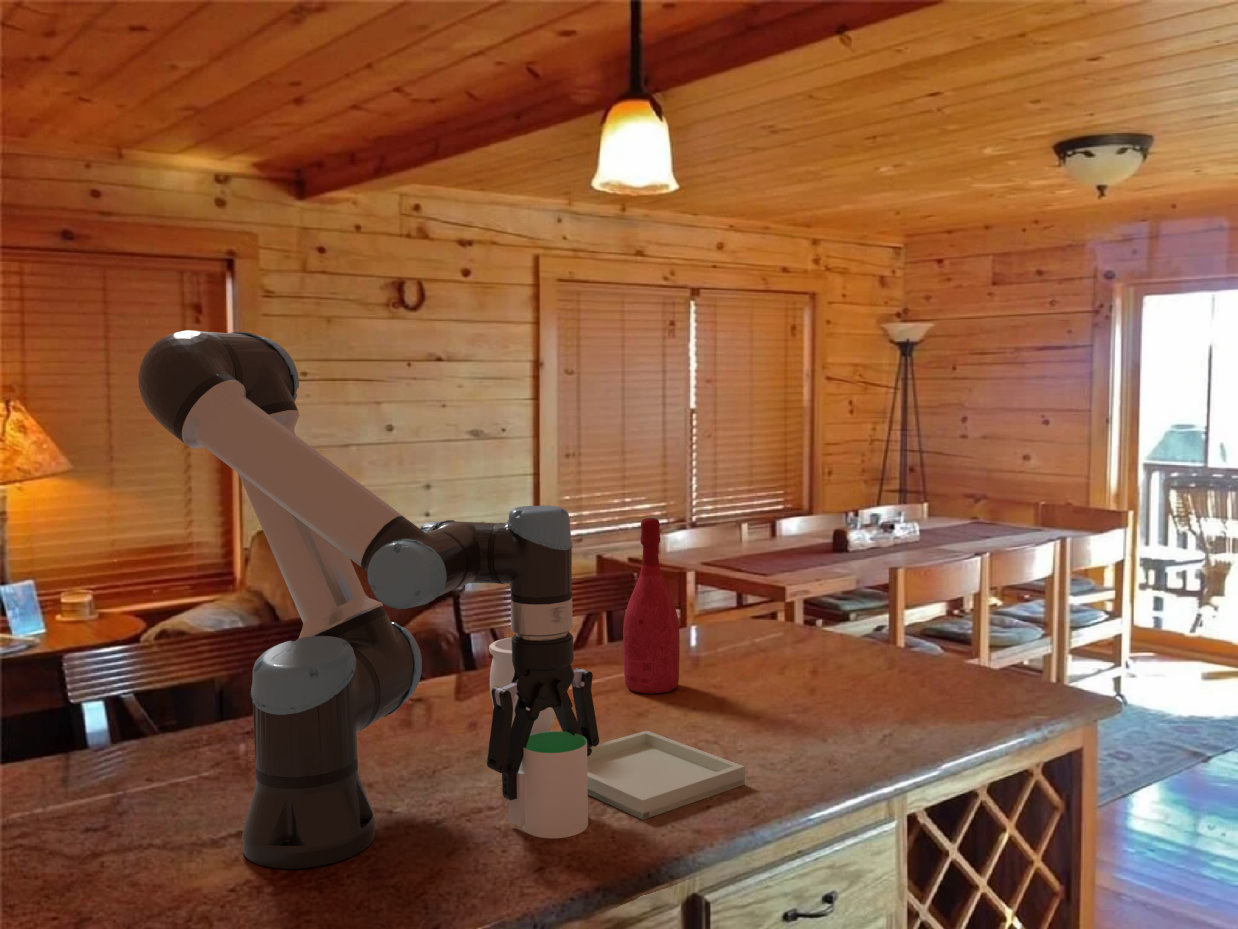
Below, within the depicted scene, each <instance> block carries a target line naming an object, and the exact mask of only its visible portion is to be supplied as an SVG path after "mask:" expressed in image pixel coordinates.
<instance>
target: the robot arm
mask: <svg viewBox="0 0 1238 929" xmlns="http://www.w3.org/2000/svg"><path fill="white" fill-rule="evenodd" d="M137 376H138V377H137V378H138V380H137V381H138V382H137V383H138V389H139V392H140V396H141V399H142V401H143V403H144V406H145V407H146V408H147V410H148V412H149V413H150V414H151V415H152V417H153V418H154V419H155V420H156V421H157V422H158V423H159V424H160V425H161V426H162V427H163V428H164V429H166V430H167V431H168V432H169V433H170V434H171V435H173V436H175V438H177V439H178V440H179V441H181V443H183V444H184V445H186V446H187V447H189V448H191V449H196V450H197V449H203V448H205V450H207V451H208V452H210V453H211V454H213V455H214V456H215V457H216V458H218V459H219V460H221V462H223V463H225V464H226V465H227V466H228V467H230V469H232V470H233V471H235V472H236V473H237V474H238V476H239V478H240V481H241V482H242V486H243V487H244V490H245V492H246V495H247V498H248V500H249V502H250V504H251V506H252V508H253V510H254V513H255V515H256V517H257V519H258V523H259V524H260V527H261V528H262V531H263V534H264V536H265V539H266V540H267V543H268V545H269V548H270V550H271V552H272V554H273V557H274V560H275V561H276V564H277V566H278V568H279V571H280V572H281V575H282V578H283V580H284V582H285V585H286V586H287V589H288V592H289V594H290V596H291V598H292V600H293V603H294V606H295V608H296V610H297V612H298V615H299V617H300V619H301V621H302V628H301V631H300V634H299V636H298V638H297V639H296V640H294V641H293V640H287V641H284V642H281V643H278V644H277V645H274V646H271V647H270V648H268V649H266V651H264V652H262V653H261V655H260V656H258V658H257V659H256V660H255V662H254V665H253V668H252V683H251V688H250V689H251V690H250V697H251V702H252V714H253V716H252V717H253V718H252V719H253V737H254V738H253V739H254V740H253V741H254V759H255V761H254V762H255V787H254V790H253V794H252V797H251V801H250V804H249V806H248V807H249V808H248V810H247V815H246V817H245V818H246V819H245V822H244V825H243V828H242V833H241V834H242V853H243V854H244V856H245V858H246V859H247V860H249V861H250V862H252V863H255V864H256V865H259V866H264V867H267V868H268V867H269V868H273V869H286V870H289V869H296V870H297V869H308V868H315V867H320V866H327V865H331V864H333V863H337V862H341V861H344V860H346V859H349V858H351V857H353V856H356V855H358V854H359V853H361V852H363V851H365V849H366V848H368V847H369V846H370V845H371V844H372V843H373V842H374V840H375V837H376V820H375V819H376V818H375V814H374V812H373V809H372V808H373V807H372V806H371V804H370V801H369V798H368V795H367V792H366V789H365V788H364V785H363V782H362V779H361V776H360V774H359V765H358V764H359V761H358V760H359V759H358V755H359V754H358V733H359V732H361V731H363V730H365V729H367V728H368V727H369V726H370V725H373V724H374V723H376V722H377V721H379V720H381V719H382V718H384V717H386V716H389V715H391V714H393V713H395V712H397V710H398V709H400V708H401V707H402V705H403V704H404V703H405V702H407V701H408V700H409V699H410V698H411V697H412V696H413V694H414V693H415V690H416V689H417V688H418V685H419V682H420V680H421V677H422V676H421V675H422V670H423V667H422V666H423V660H422V654H421V650H420V647H419V644H418V643H417V641H416V639H415V637H414V636H413V634H412V633H411V631H409V630H408V629H407V628H405V627H404V626H401V625H399V624H398V623H397V622H394V621H391V620H390V618H389V615H388V613H387V611H386V608H385V606H386V607H389V608H392V609H397V610H405V609H406V610H407V609H410V608H416V607H420V606H423V605H428V604H429V603H430V602H433V601H434V600H435V599H436V598H439V597H441V596H443V595H444V594H446V593H451V592H453V591H455V590H458V589H459V588H462V587H463V586H465V585H469V584H497V585H498V584H499V585H506V584H508V585H509V589H510V630H511V631H512V632H513V633H514V634H513V636H511V637H512V663H513V666H514V671H515V672H514V677H513V679H512V683H511V684H509V685H507V686H504V687H502V688H500V687H497V686H496V687H494V688H493V689H492V691H491V693H490V695H491V694H492V699H493V703H492V705H493V704H494V709H493V710H492V719H491V725H490V726H491V727H490V735H489V743H488V750H487V751H488V753H487V760H486V765H487V768H489V769H491V770H493V771H495V772H497V773H499V774H501V779H502V780H501V783H502V784H501V788H502V791H501V792H502V795H503V796H502V797H503V798H505V799H506V800H507V821H508V822H510V823H512V824H514V825H515V826H518V827H520V828H522V827H523V826H525V774H524V773H523V772H521V771H519V768H520V765H521V762H522V759H523V756H524V748H523V747H525V748H526V746H527V743H528V740H529V737H530V733H531V730H532V727H533V724H534V721H535V720H537V719H538V716H539V713H540V711H543V710H545V709H546V708H548V707H551V708H553V710H554V712H555V718H556V719H557V722H558V724H559V726H560V729H561V731H563V732H569V733H571V734H572V735H573V736H574V735H575V734H579V735H582V736H584V737H585V738H586V739H587V756H590V755H591V753H592V749H591V747H592V746H594V747H595V746H597V745H598V744H600V738H599V731H598V724H597V718H596V712H595V705H594V700H593V699H594V698H593V692H592V686H593V677H594V675H593V672H592V671H589V670H586V669H583V668H580V667H576V668H575V669H573V667H572V664H573V662H574V636H573V635H572V633H571V632H570V631H571V630H572V629H573V627H574V624H573V621H574V620H573V619H574V618H573V589H572V586H573V585H572V584H573V579H572V578H573V572H572V571H573V570H572V568H573V566H572V565H573V564H572V561H573V559H572V558H573V553H572V551H573V550H572V549H573V546H574V545H573V541H572V533H571V520H570V514H569V512H568V511H567V510H566V509H565V508H563V507H560V506H556V505H526V506H525V505H524V506H518V507H514V508H512V509H511V510H510V511H509V512H508V519H507V521H506V522H481V521H480V522H479V521H478V522H477V521H455V520H454V519H446V520H443V521H442V520H441V521H440V520H439V521H427V522H425V523H424V524H422V525H421V526H420V527H419V526H417V525H416V524H414V523H413V522H412V521H410V520H408V518H406V517H405V516H404V515H402V513H400V512H399V511H397V510H396V509H395V508H393V507H392V506H390V505H389V504H388V503H387V502H385V501H384V500H383V499H381V498H380V497H379V496H377V495H376V494H375V493H374V492H372V491H371V490H369V489H368V488H366V487H365V486H364V485H362V484H361V483H360V482H359V481H357V480H356V479H355V478H354V477H352V476H351V475H349V474H348V473H347V472H345V471H344V470H343V469H342V468H340V467H338V466H337V465H336V464H335V463H333V462H332V461H331V460H329V459H328V458H327V457H325V456H324V455H323V454H321V453H320V452H319V451H317V449H315V448H313V447H312V446H311V445H310V444H308V443H307V442H305V441H304V440H303V439H302V438H300V437H299V436H298V435H297V434H296V432H295V427H296V425H297V423H298V421H299V419H300V415H301V414H300V412H299V409H298V407H297V405H296V403H295V402H296V400H297V398H298V394H297V391H298V389H299V387H300V379H299V372H298V369H297V366H296V364H295V361H294V360H293V358H292V357H291V356H290V354H289V353H288V351H287V350H286V349H285V348H284V347H283V346H282V345H280V344H279V343H278V342H276V341H275V340H273V339H270V338H268V337H265V336H263V335H262V336H261V335H257V334H254V333H250V332H245V331H241V332H239V331H236V332H226V333H225V332H216V331H215V332H214V331H210V332H209V331H200V330H182V331H176V332H172V333H170V334H168V335H165V336H164V337H161V338H160V339H159V340H157V341H156V342H154V344H153V345H152V346H150V347H149V349H148V350H147V351H146V353H145V355H144V356H143V358H142V361H141V363H140V366H139V371H138V375H137ZM352 561H353V562H354V563H355V564H356V565H357V566H359V567H360V568H361V569H363V570H364V571H365V572H367V582H368V585H369V586H370V588H371V591H372V593H373V595H374V596H375V598H376V600H375V599H374V598H370V597H369V596H368V595H367V594H366V592H365V591H364V588H363V586H362V584H361V582H360V579H359V577H358V575H357V572H356V570H355V567H354V565H353V563H352ZM570 686H571V687H572V688H571V689H572V698H573V703H572V700H571V698H570V695H569V693H568V691H569V688H570ZM515 694H517V696H518V700H517V703H516V706H515V718H514V721H513V724H512V717H513V703H515V699H514V696H515ZM492 699H491V700H492ZM573 704H574V705H573ZM573 706H574V709H575V713H574V710H573ZM526 707H527V708H529V709H530V710H527V709H526ZM511 725H512V727H511Z"/></svg>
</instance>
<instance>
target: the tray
mask: <svg viewBox="0 0 1238 929" xmlns="http://www.w3.org/2000/svg"><path fill="white" fill-rule="evenodd" d="M591 749H592V753H591V755H590V756H587V779H588V796H590V797H592V798H594V799H596V800H598V801H601V802H602V803H606V804H607V805H609V806H611V807H613V808H616V809H618V810H620V811H623V812H625V813H626V814H628V815H631V816H632V817H636V818H637V819H639V820H642V821H644V820H647V819H649V818H653V817H655V816H658V815H661V814H664V813H667V812H669V811H672V810H675V809H679V808H681V807H685V806H687V805H690V804H693V803H696V802H699V801H701V800H705V799H708V798H710V797H713V796H715V795H719V794H722V793H725V792H729V791H731V790H733V789H736V788H739V787H742V786H745V784H746V766H745V765H742V764H740V763H736V762H733V761H731V760H729V759H726V758H723V757H720V756H718V755H715V754H712V753H709V752H706V751H704V750H701V749H698V748H696V747H692V746H690V745H687V744H685V743H682V742H680V741H676V740H673V739H670V738H669V737H665V736H663V735H660V734H658V733H655V732H652V731H649V730H643V731H641V732H640V731H639V732H637V733H633V734H630V735H629V734H628V735H627V736H622V737H619V738H616V739H612V740H608V741H605V742H602V743H599V744H598V745H597V746H595V747H594V746H592V747H591Z"/></svg>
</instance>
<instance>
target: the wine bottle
mask: <svg viewBox="0 0 1238 929" xmlns="http://www.w3.org/2000/svg"><path fill="white" fill-rule="evenodd" d="M660 524H661V523H660V520H659V519H658V518H655V517H645V518H643V519H642V520H641V521H640V544H641V545H642V561H641V568H640V573H639V576H638V578H637V581H636V583H635V587H634V588H633V591H632V594H631V595H630V598H629V601H628V603H627V607H626V609H625V614H624V618H623V627H622V628H623V629H622V630H623V631H622V633H623V634H622V636H623V637H622V638H623V639H622V642H623V643H622V646H623V647H622V650H623V651H622V652H623V674H624V676H623V677H624V683H625V686H626V688H627V689H629V690H630V691H632V692H636V693H640V694H648V695H649V694H650V695H651V694H653V695H654V694H664V693H667V692H671V691H673V690H674V689H676V688H677V687H678V686H679V680H680V652H681V651H680V649H681V648H680V647H681V646H680V644H681V643H680V623H679V617H678V613H677V609H676V606H675V603H674V601H673V599H672V595H671V594H670V591H669V590H668V587H667V584H666V583H665V579H664V577H663V575H662V572H661V566H660V560H659V545H660V543H661V531H660V529H661V528H660V527H661V526H660Z"/></svg>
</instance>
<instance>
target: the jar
mask: <svg viewBox="0 0 1238 929" xmlns="http://www.w3.org/2000/svg"><path fill="white" fill-rule="evenodd" d="M512 637H513V636H511V637H506V638H501V639H498V640H495V641H493V642H490V644H489V649H488V651H489V653H490V655H491V656H492V661H491V664H490V672H489V692H490V693H489V694H490V699H491V703H492V708H493V709H494V704H493V699H492V694H491V691H492V689H493V688H494V687H496V686H497V687H500V688H502V687H504V686H507V685H509V684H511V683H512V679H513V677H514V672H515V671H514V666H513V663H512ZM514 699H515V703H513V717H512V724H513V721H514V718H515V706H516V703H517V700H518V696H517V694H515V696H514ZM526 709H527V710H530V709H529V708H527V707H526ZM555 719H556V715H555V712H554V710H553V708H551V707H548V708H546V709H545V710H543V711H540V713H539V716H538V719H537V720H535V721H534V724H533V727H532V730H531V733H530V735H533V734H536V733H542V732H551V731H552V730H551V728H552V727H553V724H554V722H555ZM511 727H512V725H511Z"/></svg>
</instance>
